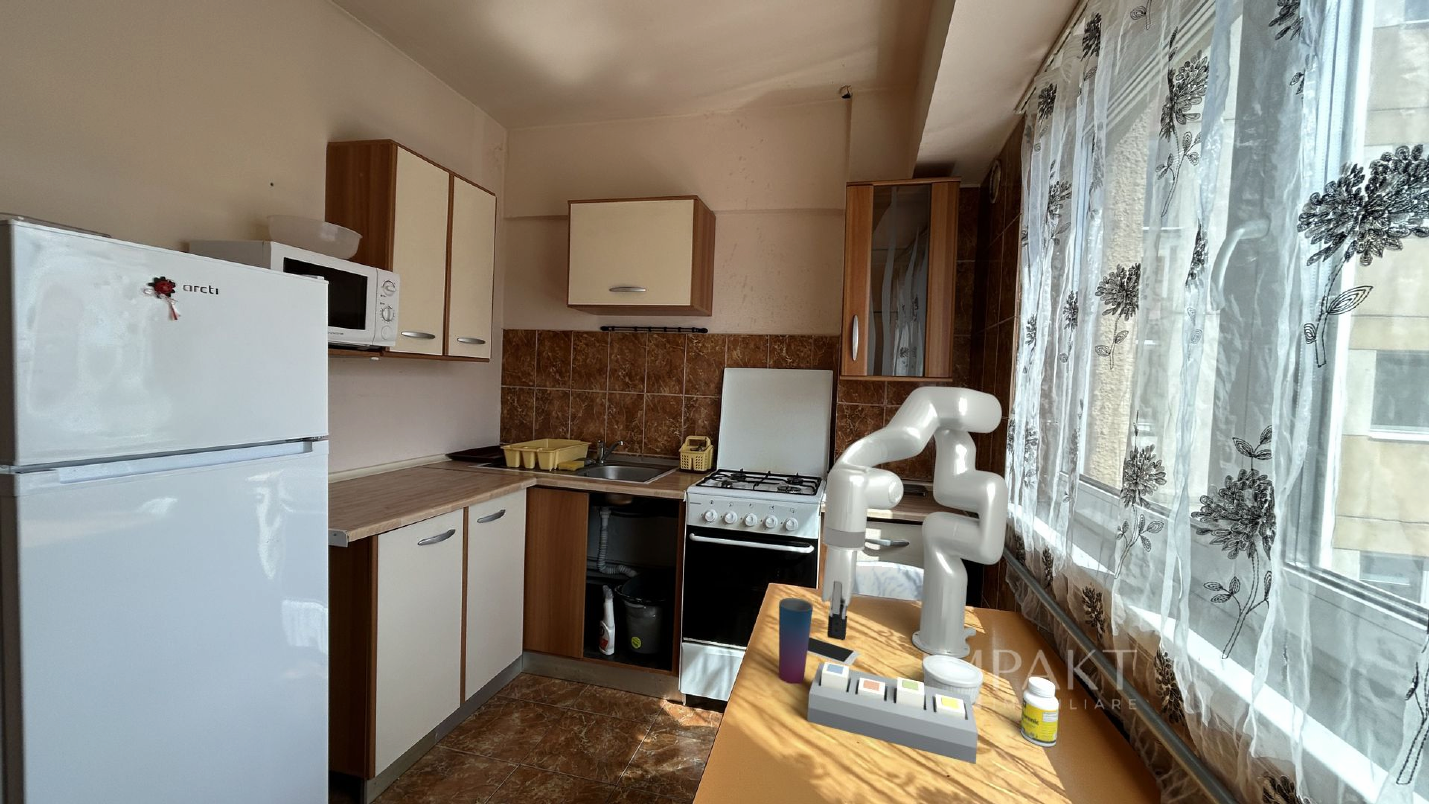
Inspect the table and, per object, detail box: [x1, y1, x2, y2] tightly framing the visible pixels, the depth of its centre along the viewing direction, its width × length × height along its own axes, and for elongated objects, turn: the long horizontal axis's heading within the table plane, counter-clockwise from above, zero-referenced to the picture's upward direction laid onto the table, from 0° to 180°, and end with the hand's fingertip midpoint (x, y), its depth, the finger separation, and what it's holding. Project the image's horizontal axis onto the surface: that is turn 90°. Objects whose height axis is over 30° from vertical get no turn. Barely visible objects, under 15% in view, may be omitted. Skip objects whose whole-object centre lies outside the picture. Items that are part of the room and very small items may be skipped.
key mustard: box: [935, 694, 965, 719], centre depth 95 cm, size 4×4×3 cm
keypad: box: [807, 662, 979, 765], centre depth 98 cm, size 27×12×5 cm, turn 71°
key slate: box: [821, 661, 850, 692], centre depth 102 cm, size 4×4×3 cm
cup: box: [778, 597, 814, 685], centre depth 112 cm, size 7×7×15 cm
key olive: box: [896, 676, 925, 710], centre depth 97 cm, size 4×4×3 cm
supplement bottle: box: [1020, 676, 1060, 748], centre depth 96 cm, size 5×5×10 cm
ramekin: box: [921, 654, 984, 705], centre depth 109 cm, size 11×11×5 cm
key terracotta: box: [858, 678, 885, 701], centre depth 99 cm, size 4×4×3 cm
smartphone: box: [807, 636, 861, 667], centre depth 125 cm, size 8×1×15 cm
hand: (836, 637), depth 101 cm, fingers closed
